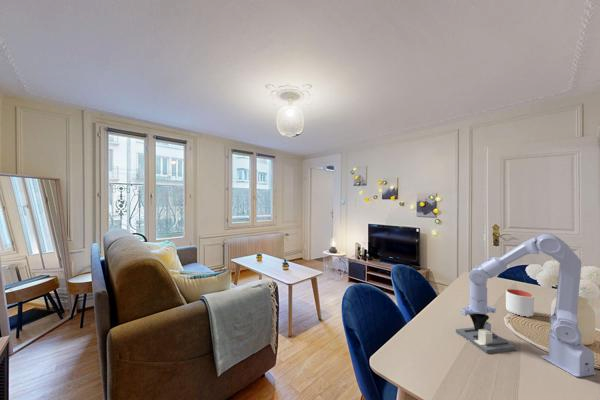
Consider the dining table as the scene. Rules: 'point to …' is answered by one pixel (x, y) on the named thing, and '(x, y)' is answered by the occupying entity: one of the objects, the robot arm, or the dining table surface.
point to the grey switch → (487, 326)
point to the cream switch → (485, 336)
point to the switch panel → (496, 345)
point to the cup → (520, 302)
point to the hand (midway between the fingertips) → (478, 330)
